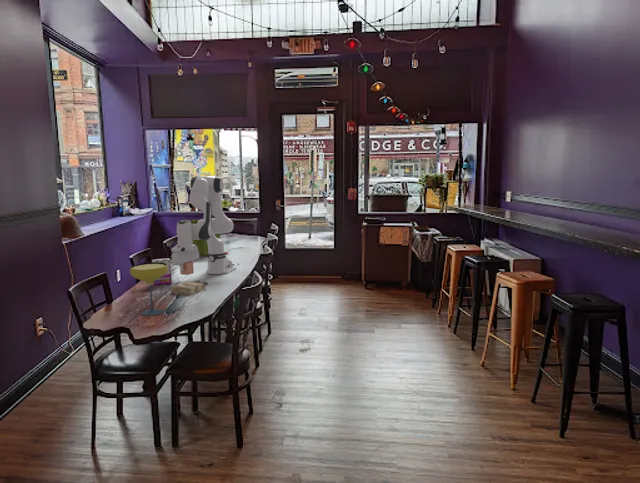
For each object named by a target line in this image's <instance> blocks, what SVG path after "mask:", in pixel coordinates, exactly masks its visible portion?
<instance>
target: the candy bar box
mask: <svg viewBox="0 0 640 483" xmlns="http://www.w3.org/2000/svg"><path fill="white" fill-rule="evenodd" d="M151 262H161V263H166V264H167V272H166V274H165V275H163V276H162V277H160V278H158V279H157V280H155V281H154V282H153V285H154V286H162V285H163V286H164V285H172V283H173V277H172V276H173V275H172V265H171V264H172V263H171V258H170V257H169V258H156V259H152V260H151Z"/></svg>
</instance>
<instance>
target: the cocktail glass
mask: <svg viewBox="0 0 640 483" xmlns="http://www.w3.org/2000/svg"><path fill="white" fill-rule="evenodd" d="M129 272H130V275H131V276H132V277H133V278H134V279H137V280H139V281H142V282H145V283H146V284H147V285H148V286H149V295H150V309H145V310H143V311H141V313H140V314H141V315H142V316H146V317H147V316H148V317H151V316H157V315H160V314H163V313H164V309H161V308H154V305H153V295H152V285H154V281H155V280H157V279H158V278H160V277H162V276H163V275H165V274H166V272H167V264H166V263H161V262H152V261H151V262H141V263H138V264H134V265H132V266H130V267H129Z"/></svg>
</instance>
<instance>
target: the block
mask: <svg viewBox="0 0 640 483" xmlns="http://www.w3.org/2000/svg"><path fill="white" fill-rule="evenodd" d="M183 267H184V268H185V270H184V271H181V268H180V267H179V272H180V273H179V274H180V275H182V276H189V275H192V274H195V273H194V272H195V271H194V263H193V262H187V263H184V264H183Z"/></svg>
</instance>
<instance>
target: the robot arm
mask: <svg viewBox="0 0 640 483" xmlns="http://www.w3.org/2000/svg"><path fill="white" fill-rule="evenodd" d="M189 184H190V185H189V186H190V189H191V190H190V193H189V203H190V204H191V205H192V206H193V207H194V208H196V209H198V210H200V211H203V218H202V219H198V220H199V221H198V222H197V224H192V223H191V222H190V221H191V220H189V219H180V220H178V221H177V223H176V236H177V242H176V243H177V244H176V245H174V246H173V247H172V248H171V252H172V253H171V262H172V263H171V264H172V265H174V266H179V269H180V268H181V271H184V270H185V268H184V267H183V264H184V263H187V262H193V264H194V261H196V260H199V259H200V256H199V252H198V248H197V246H196V245H193V241H192V239H193V240H206V241H207V244H208V256H207V258H208V260H207V266H206V268H207V269H206V272H207V274H208V275H210V274H211V275H221V274H229V273H231V272H232V271H235V270H236V269H237V267H236V266H234V265H233V261H232V260H231V259H229V258H228V257H227V255H229V251H225V243H224V241H223V240H222V239H221V238H220V239H219V238H217V237H216V236H215V234H220V235H222V234H228V233H231V232H232V231H233V230H234V222H233V220H232V219H231V218H229V217H228V216H227V215H226V214H225V212H224V210H223V206H222V205H223V204H222V198H221V197H222V195H221V192H222V191H223V190H224V180H223V178H222V177H220V176H212V175H205V176H203V175H201V176H193V177H192V178H191V179H190V182H189ZM212 216H213V217H214V218H212Z"/></svg>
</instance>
